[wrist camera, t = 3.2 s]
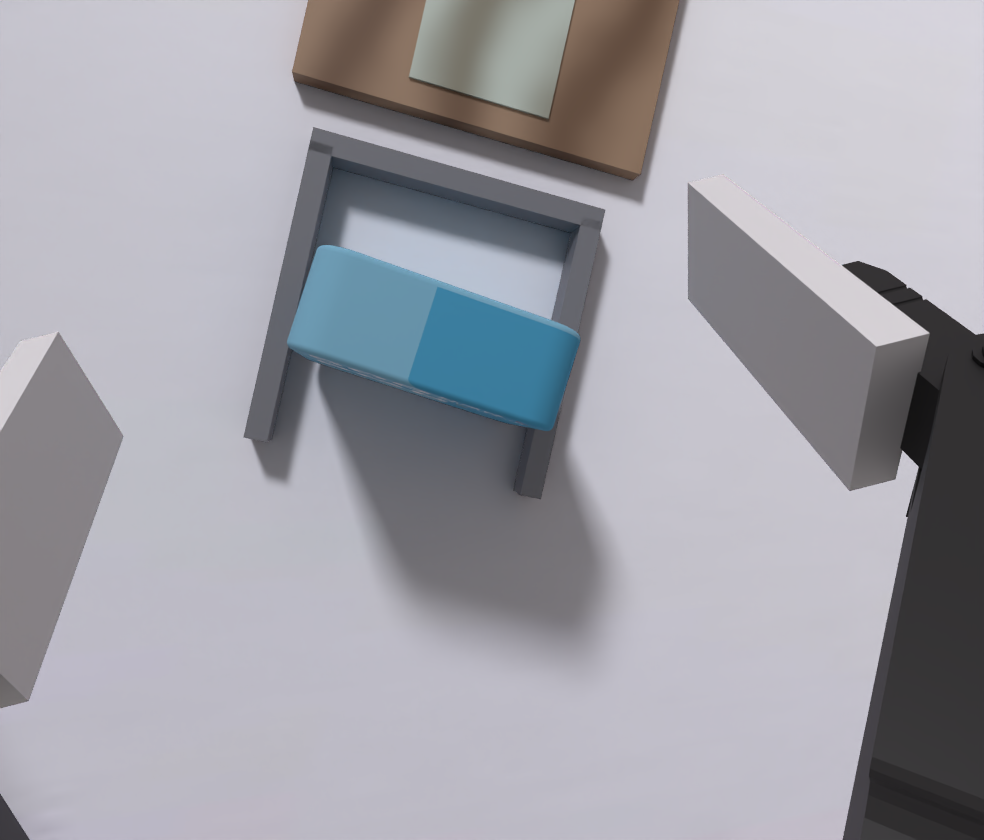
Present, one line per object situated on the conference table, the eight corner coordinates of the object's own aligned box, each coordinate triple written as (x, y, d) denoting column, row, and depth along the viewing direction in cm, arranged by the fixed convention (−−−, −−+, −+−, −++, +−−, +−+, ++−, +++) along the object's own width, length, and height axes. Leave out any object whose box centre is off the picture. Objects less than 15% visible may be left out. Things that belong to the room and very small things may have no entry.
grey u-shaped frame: (249, 435, 41) (243, 437, 39) (315, 140, 41) (313, 127, 39) (532, 494, 43) (540, 499, 41) (594, 218, 43) (605, 209, 41)
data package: (305, 359, 41) (280, 344, 29) (330, 282, 41) (315, 236, 29) (507, 423, 43) (559, 434, 31) (530, 350, 43) (591, 333, 31)
